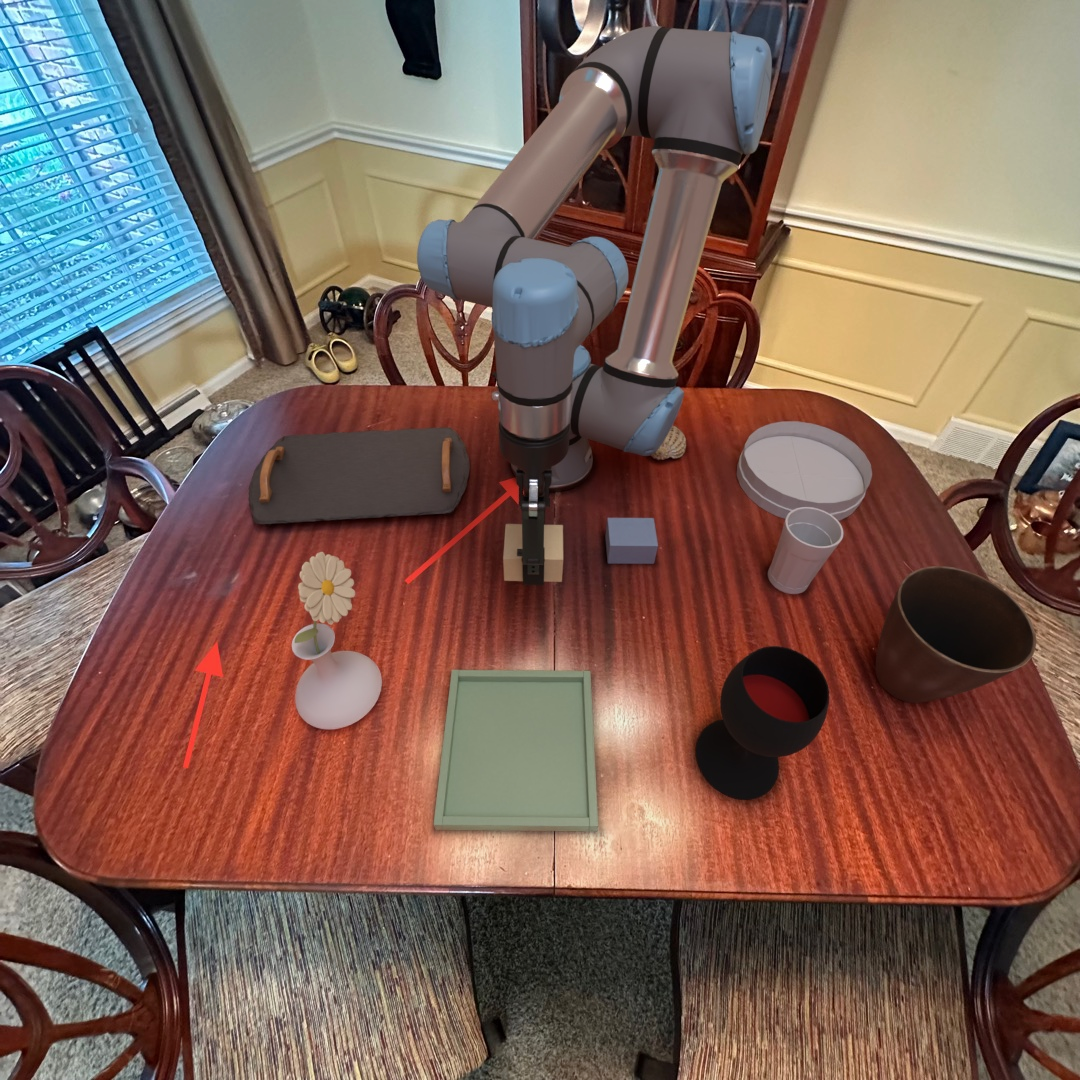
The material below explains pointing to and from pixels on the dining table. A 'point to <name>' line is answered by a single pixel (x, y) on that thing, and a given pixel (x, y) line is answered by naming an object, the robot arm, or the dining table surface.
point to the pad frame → (518, 752)
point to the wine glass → (762, 721)
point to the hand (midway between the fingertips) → (533, 562)
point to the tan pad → (552, 555)
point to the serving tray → (359, 476)
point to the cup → (803, 548)
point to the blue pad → (631, 541)
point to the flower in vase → (333, 678)
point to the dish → (803, 469)
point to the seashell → (671, 445)
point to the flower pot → (950, 635)
